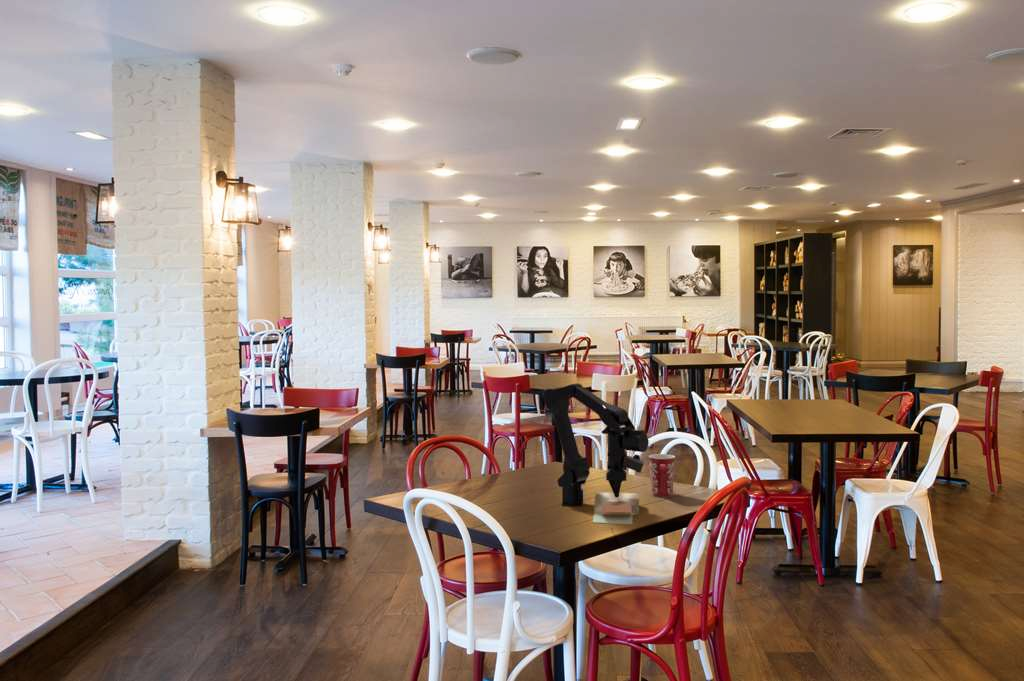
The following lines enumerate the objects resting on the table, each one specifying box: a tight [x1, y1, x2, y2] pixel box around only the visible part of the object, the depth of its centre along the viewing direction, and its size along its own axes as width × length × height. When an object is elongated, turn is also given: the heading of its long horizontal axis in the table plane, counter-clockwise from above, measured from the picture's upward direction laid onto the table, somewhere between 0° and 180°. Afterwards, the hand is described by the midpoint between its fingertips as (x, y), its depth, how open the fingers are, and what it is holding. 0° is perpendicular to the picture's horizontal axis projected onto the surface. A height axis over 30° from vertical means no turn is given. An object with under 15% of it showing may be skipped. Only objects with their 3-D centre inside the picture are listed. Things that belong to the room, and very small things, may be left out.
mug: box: [648, 453, 676, 498], centre depth 289 cm, size 13×9×14 cm
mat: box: [592, 513, 634, 525], centre depth 261 cm, size 12×11×1 cm
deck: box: [593, 491, 640, 516], centre depth 272 cm, size 14×12×4 cm
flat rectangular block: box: [602, 505, 631, 516], centre depth 261 cm, size 9×6×2 cm, turn 82°
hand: (616, 497), depth 268 cm, fingers closed
